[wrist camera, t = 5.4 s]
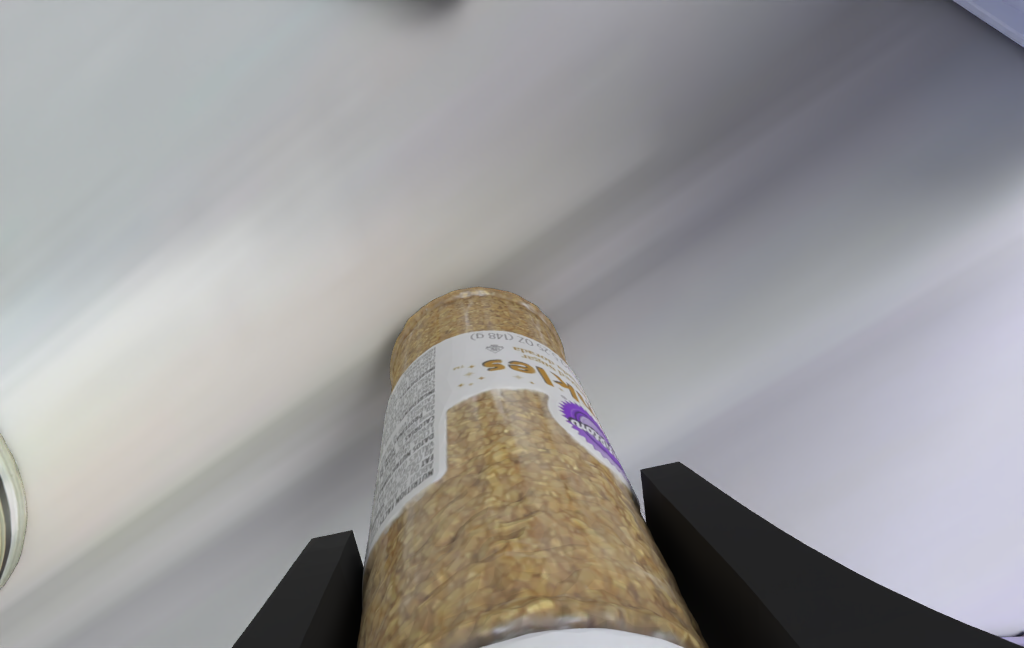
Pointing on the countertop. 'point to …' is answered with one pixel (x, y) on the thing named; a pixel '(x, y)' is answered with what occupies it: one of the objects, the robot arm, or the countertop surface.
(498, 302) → the sprinkles bottle
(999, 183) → the countertop surface
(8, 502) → the coffee can
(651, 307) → the countertop surface
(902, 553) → the countertop surface
